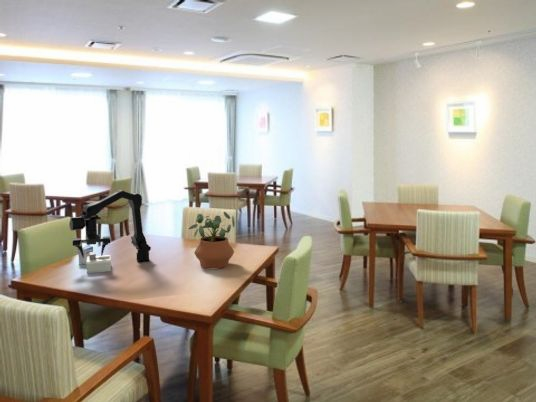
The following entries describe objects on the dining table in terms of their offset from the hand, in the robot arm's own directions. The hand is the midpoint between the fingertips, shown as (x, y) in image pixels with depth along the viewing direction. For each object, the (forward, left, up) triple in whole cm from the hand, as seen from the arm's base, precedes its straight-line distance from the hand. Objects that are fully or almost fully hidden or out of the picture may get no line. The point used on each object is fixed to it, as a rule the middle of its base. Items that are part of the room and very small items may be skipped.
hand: (92, 256), depth 240 cm
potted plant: (-62, +10, -7) cm, 63 cm away
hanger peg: (0, 0, -6) cm, 6 cm away
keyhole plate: (-3, 0, -7) cm, 8 cm away
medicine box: (+4, -16, -7) cm, 18 cm away
